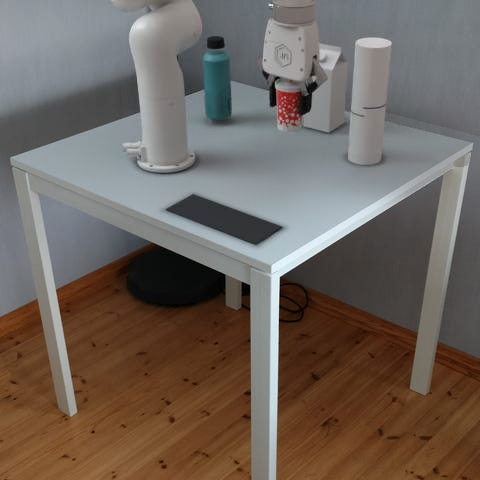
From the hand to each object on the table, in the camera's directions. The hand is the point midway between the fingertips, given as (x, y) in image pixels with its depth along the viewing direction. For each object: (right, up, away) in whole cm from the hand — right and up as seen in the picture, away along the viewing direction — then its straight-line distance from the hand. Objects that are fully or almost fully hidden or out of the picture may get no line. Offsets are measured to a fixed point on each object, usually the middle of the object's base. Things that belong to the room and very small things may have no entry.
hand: (289, 108), depth 152 cm
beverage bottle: (-15, +6, +40) cm, 43 cm away
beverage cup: (0, -3, +2) cm, 4 cm away
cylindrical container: (+18, -6, +21) cm, 28 cm away
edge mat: (-13, -21, -1) cm, 25 cm away
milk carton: (+10, +4, +37) cm, 38 cm away
